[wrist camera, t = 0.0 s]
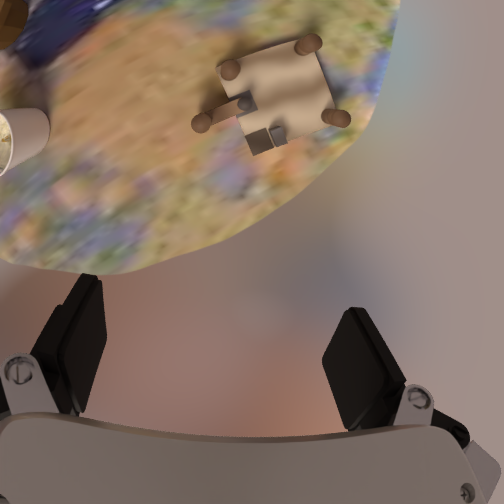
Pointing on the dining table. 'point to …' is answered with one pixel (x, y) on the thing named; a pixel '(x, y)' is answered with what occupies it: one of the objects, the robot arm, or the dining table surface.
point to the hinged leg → (220, 114)
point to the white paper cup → (21, 135)
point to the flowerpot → (11, 20)
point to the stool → (281, 93)
